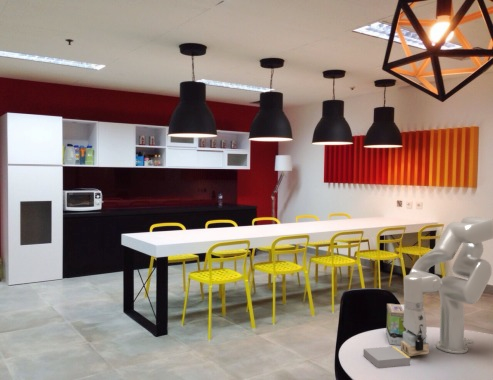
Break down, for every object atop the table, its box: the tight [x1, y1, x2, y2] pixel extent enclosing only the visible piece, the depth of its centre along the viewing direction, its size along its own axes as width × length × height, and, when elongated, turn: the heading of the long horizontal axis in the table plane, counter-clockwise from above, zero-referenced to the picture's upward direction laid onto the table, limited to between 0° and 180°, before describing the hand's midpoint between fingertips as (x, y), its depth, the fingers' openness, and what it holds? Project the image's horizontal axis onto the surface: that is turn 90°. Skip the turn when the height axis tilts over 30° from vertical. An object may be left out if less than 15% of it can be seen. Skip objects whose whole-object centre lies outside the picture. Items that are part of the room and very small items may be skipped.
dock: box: [362, 345, 411, 369], centre depth 180 cm, size 14×12×3 cm
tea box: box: [385, 303, 405, 346], centre depth 203 cm, size 15×10×15 cm, turn 168°
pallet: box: [400, 331, 430, 357], centre depth 185 cm, size 9×6×8 cm, turn 102°
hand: (414, 346), depth 185 cm, fingers closed on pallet, 6 cm apart
